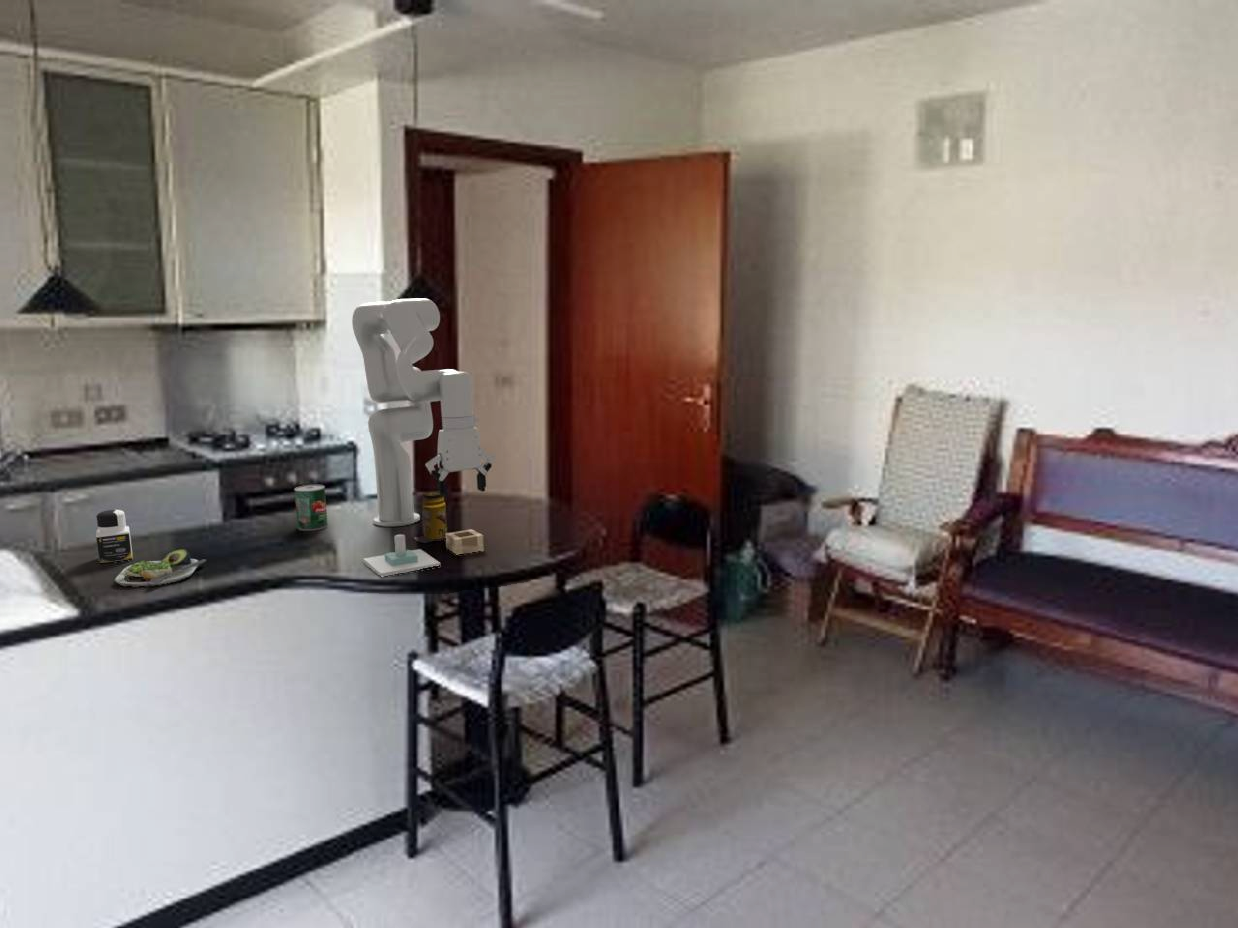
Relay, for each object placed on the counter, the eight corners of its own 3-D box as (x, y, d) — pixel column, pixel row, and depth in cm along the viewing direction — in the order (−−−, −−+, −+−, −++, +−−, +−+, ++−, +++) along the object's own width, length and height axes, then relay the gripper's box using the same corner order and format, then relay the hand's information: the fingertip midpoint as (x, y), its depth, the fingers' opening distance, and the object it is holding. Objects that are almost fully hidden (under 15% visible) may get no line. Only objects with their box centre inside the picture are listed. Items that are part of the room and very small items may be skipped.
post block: (363, 562, 223) (361, 534, 221) (420, 552, 230) (418, 525, 228) (381, 577, 211) (378, 547, 209) (440, 566, 218) (438, 537, 216)
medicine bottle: (99, 564, 226) (93, 516, 224) (100, 557, 232) (93, 510, 230) (132, 560, 229) (126, 512, 227) (132, 553, 235) (126, 506, 233)
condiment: (453, 539, 242) (450, 493, 239) (422, 544, 237) (419, 498, 235) (442, 533, 248) (439, 488, 245) (411, 538, 243) (408, 493, 241)
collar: (446, 549, 232) (445, 533, 232) (472, 544, 236) (472, 529, 235) (456, 555, 226) (455, 539, 226) (483, 551, 230) (482, 535, 229)
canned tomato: (327, 529, 254) (323, 489, 252) (296, 531, 252) (292, 491, 250) (328, 522, 262) (325, 483, 260) (299, 524, 260) (295, 485, 258)
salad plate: (190, 588, 207) (188, 568, 207) (103, 595, 204) (100, 575, 203) (210, 563, 226) (208, 544, 225) (130, 569, 223) (128, 550, 222)
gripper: (485, 418, 233) (489, 486, 236) (418, 425, 224) (423, 495, 227) (497, 421, 226) (501, 491, 229) (428, 428, 218) (434, 500, 221)
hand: (462, 493), depth 228 cm, fingers open, 9 cm apart
